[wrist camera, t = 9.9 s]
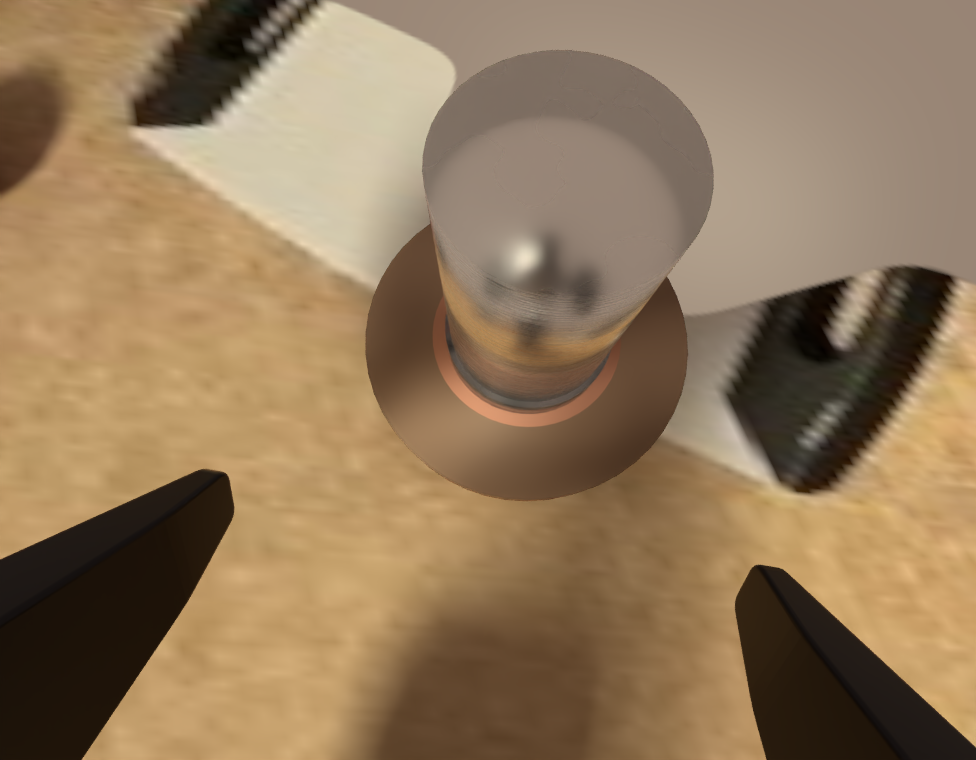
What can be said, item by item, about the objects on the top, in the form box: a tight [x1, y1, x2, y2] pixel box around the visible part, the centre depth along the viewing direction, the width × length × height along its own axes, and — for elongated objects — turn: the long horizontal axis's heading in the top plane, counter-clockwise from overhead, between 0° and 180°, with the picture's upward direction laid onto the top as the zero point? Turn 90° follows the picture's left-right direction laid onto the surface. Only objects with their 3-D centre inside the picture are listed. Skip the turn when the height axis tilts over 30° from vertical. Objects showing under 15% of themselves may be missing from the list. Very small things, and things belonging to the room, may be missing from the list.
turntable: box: [366, 224, 688, 501], centre depth 21 cm, size 13×13×3 cm
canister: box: [422, 50, 713, 414], centre depth 15 cm, size 6×6×10 cm
